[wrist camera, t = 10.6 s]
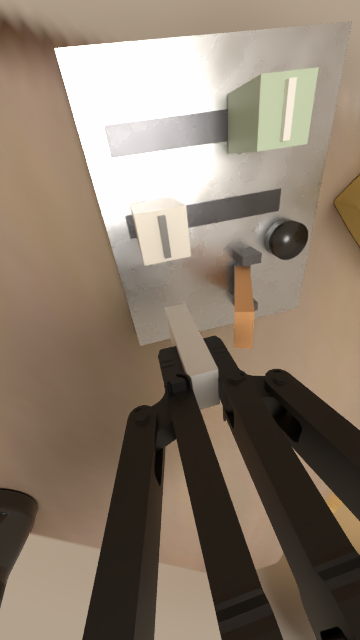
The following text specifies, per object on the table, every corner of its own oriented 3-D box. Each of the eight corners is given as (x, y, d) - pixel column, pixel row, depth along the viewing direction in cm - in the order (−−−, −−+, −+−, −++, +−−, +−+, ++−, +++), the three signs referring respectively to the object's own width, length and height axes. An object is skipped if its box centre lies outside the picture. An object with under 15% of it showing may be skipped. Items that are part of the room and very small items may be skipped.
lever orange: (233, 293, 23) (232, 347, 17) (233, 263, 21) (232, 311, 15) (248, 292, 22) (253, 348, 16) (250, 262, 21) (256, 311, 15)
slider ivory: (139, 247, 18) (145, 267, 15) (129, 204, 16) (133, 215, 13) (177, 239, 18) (192, 257, 15) (172, 196, 17) (187, 206, 13)
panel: (138, 334, 25) (141, 358, 22) (61, 61, 14) (45, 32, 11) (286, 298, 27) (308, 316, 24) (327, 36, 16) (379, 5, 13)
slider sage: (228, 153, 16) (259, 151, 13) (227, 93, 14) (264, 71, 11) (269, 147, 16) (310, 143, 13) (273, 88, 15) (323, 65, 11)
